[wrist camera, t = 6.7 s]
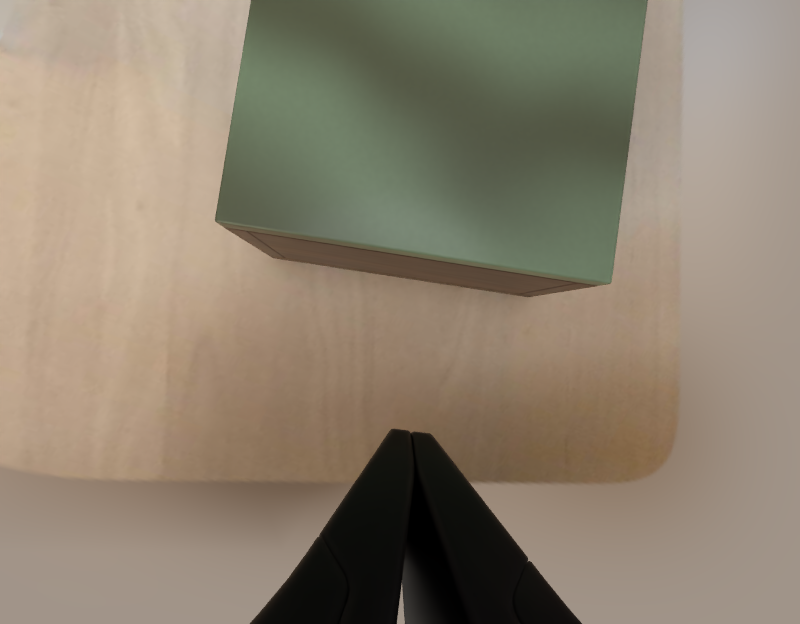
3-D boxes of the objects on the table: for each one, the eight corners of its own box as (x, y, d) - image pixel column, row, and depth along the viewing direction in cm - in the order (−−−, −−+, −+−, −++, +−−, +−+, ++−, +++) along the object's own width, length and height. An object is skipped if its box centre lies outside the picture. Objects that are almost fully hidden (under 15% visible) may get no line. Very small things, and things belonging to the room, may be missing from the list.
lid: (278, -114, 15) (272, -139, 14) (641, -40, 15) (656, -60, 15) (222, 227, 14) (213, 221, 13) (599, 286, 15) (612, 284, 14)
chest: (306, 39, 21) (274, -92, 15) (558, 85, 22) (639, -19, 15) (272, 257, 21) (223, 227, 14) (529, 297, 22) (598, 286, 15)
